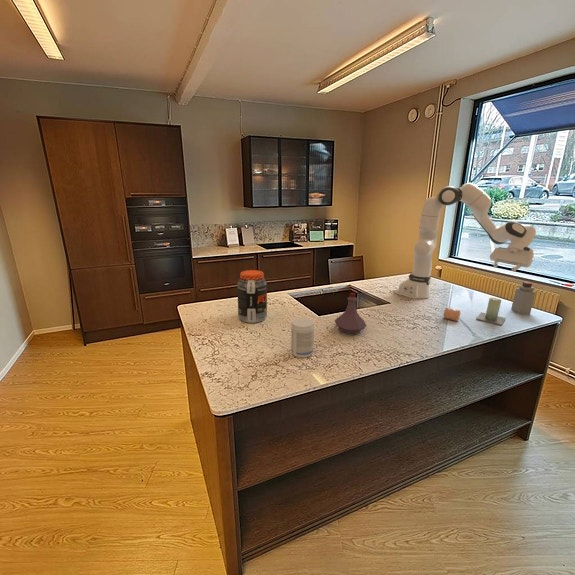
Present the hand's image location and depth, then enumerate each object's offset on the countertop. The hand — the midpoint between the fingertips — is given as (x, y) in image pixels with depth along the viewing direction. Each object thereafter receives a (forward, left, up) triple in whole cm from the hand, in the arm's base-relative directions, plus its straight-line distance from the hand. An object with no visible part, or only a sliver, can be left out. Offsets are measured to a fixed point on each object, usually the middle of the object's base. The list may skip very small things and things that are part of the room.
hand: (503, 268), depth 180 cm
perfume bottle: (+12, +13, -27) cm, 32 cm away
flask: (-50, -79, -27) cm, 97 cm away
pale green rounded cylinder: (+1, -13, -26) cm, 29 cm away
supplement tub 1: (-98, -101, -27) cm, 144 cm away
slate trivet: (+1, -13, -27) cm, 30 cm away
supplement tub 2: (-54, -113, -27) cm, 128 cm away
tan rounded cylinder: (-16, -29, -21) cm, 40 cm away
